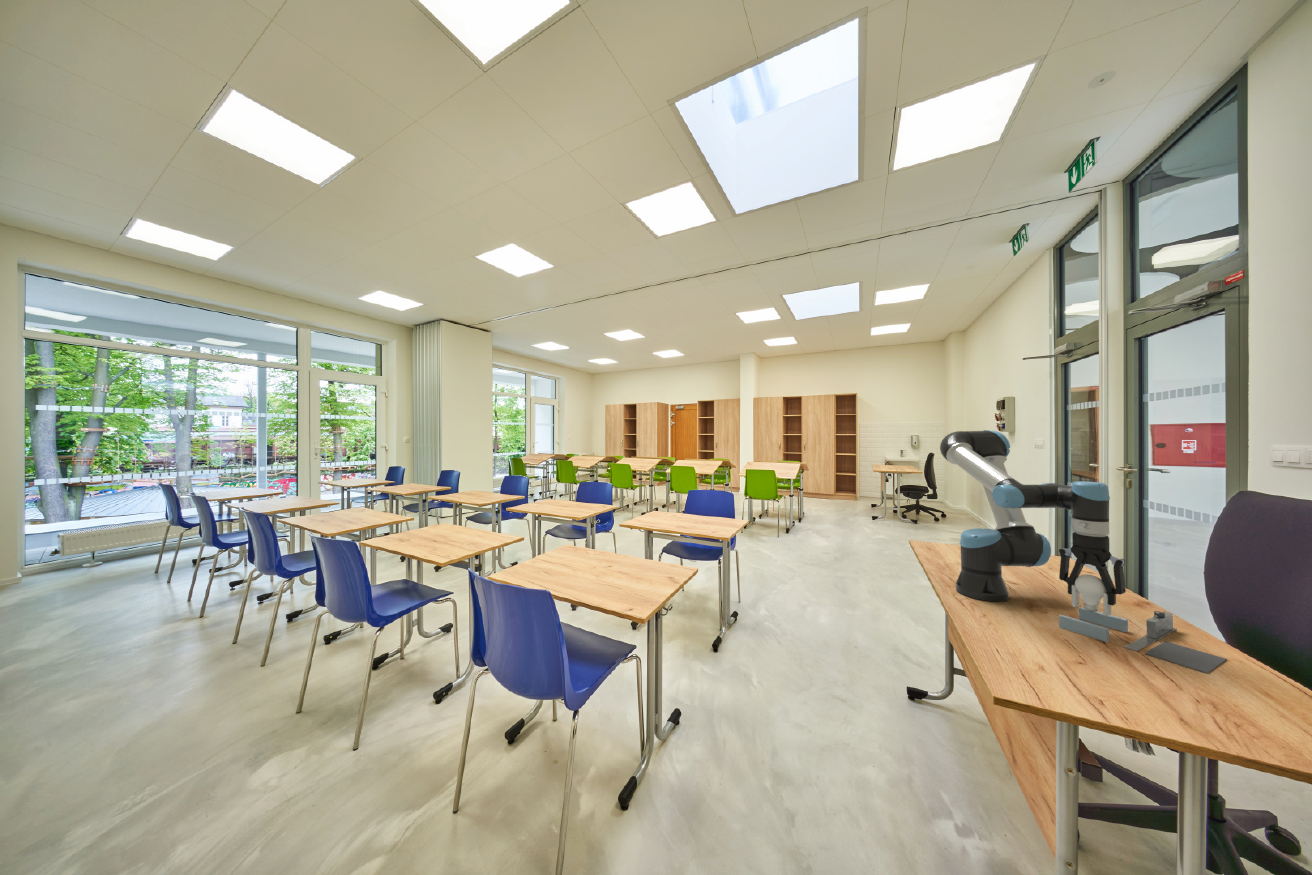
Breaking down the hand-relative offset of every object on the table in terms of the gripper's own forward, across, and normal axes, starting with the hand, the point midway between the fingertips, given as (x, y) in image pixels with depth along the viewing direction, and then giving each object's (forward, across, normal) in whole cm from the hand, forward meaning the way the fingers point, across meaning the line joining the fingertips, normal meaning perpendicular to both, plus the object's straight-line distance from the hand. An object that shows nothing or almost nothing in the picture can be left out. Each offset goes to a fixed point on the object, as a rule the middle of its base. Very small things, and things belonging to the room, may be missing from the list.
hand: (1091, 610), depth 120 cm
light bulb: (+1, 0, 0) cm, 1 cm away
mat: (+5, +18, 0) cm, 18 cm away
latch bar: (+5, +10, +13) cm, 17 cm away
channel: (+5, 0, 0) cm, 6 cm away
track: (+5, +10, +7) cm, 13 cm away
